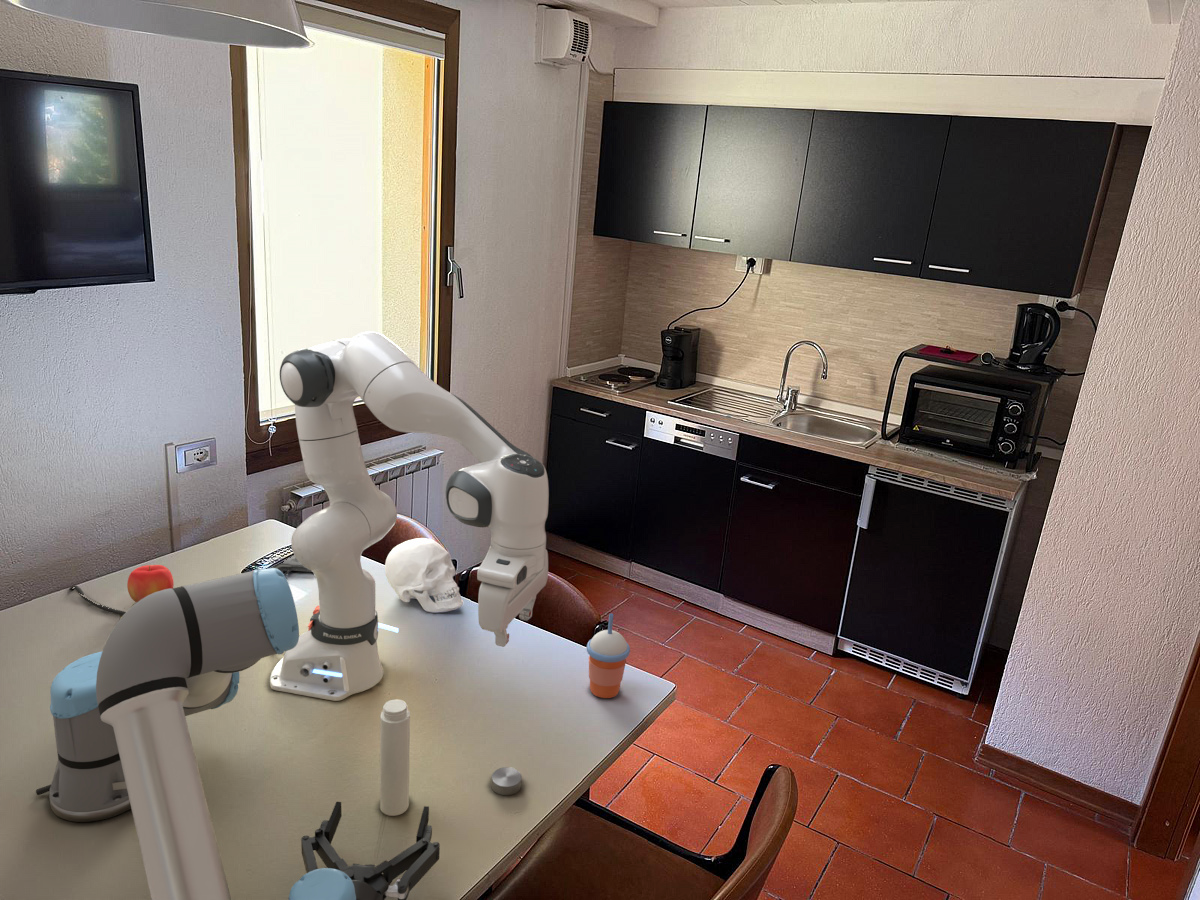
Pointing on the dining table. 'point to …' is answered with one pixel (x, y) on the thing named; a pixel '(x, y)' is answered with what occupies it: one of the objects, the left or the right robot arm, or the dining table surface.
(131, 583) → the apple
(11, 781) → the dining table surface
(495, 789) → the lid
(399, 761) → the white cylinder
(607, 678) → the cup with straw
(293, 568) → the handgun
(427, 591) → the skull
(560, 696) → the dining table surface
